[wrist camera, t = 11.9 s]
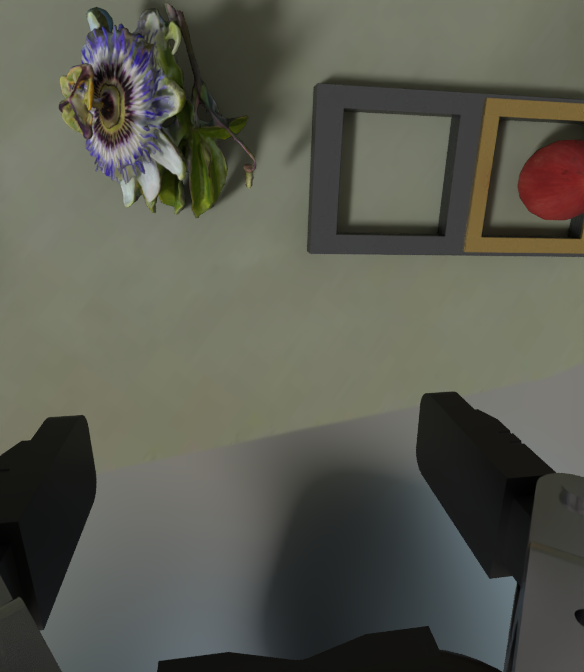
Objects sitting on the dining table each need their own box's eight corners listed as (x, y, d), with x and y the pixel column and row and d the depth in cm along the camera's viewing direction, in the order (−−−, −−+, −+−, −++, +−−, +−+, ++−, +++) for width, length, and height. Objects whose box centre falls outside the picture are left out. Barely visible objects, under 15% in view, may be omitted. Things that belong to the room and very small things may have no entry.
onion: (540, 126, 38) (619, 114, 31) (575, 181, 40) (658, 182, 33) (485, 179, 39) (549, 180, 31) (522, 230, 41) (591, 242, 33)
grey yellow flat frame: (313, 87, 35) (318, 82, 33) (617, 105, 39) (634, 102, 37) (306, 250, 39) (310, 253, 37) (584, 254, 42) (598, 257, 41)
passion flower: (127, 126, 39) (29, -12, 28) (256, 99, 38) (210, -58, 26) (132, 251, 36) (24, 155, 25) (272, 226, 35) (228, 112, 23)
